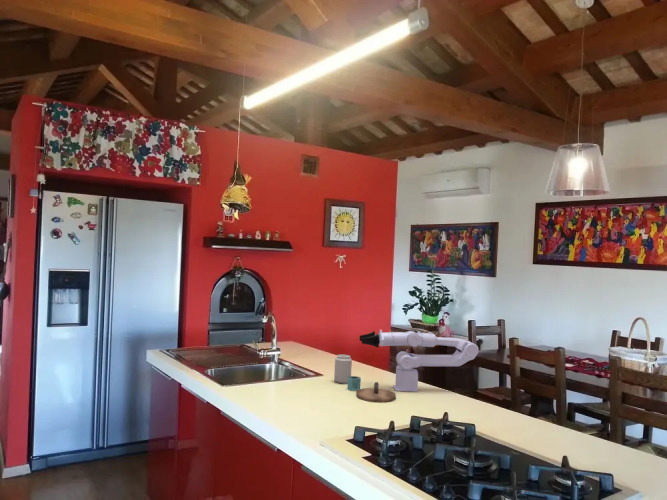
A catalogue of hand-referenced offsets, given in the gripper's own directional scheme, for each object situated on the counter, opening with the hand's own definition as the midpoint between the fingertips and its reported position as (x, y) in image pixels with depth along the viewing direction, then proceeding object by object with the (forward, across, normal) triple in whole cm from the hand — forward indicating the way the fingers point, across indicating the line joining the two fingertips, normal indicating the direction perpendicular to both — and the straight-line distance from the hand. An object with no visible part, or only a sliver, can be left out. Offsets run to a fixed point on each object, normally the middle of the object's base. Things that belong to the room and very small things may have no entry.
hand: (360, 339), depth 231 cm
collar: (+3, +2, +21) cm, 21 cm away
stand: (-4, +14, +21) cm, 26 cm away
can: (+7, -10, +21) cm, 24 cm away
